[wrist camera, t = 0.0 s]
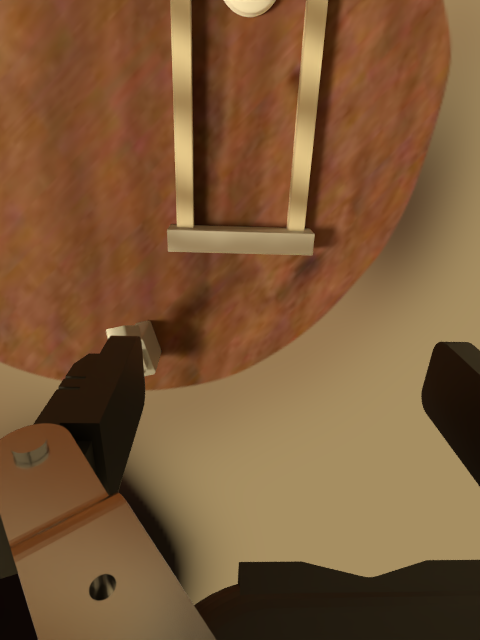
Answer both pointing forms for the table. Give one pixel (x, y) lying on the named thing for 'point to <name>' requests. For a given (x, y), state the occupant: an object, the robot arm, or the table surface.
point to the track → (295, 234)
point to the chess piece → (249, 6)
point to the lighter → (148, 343)
